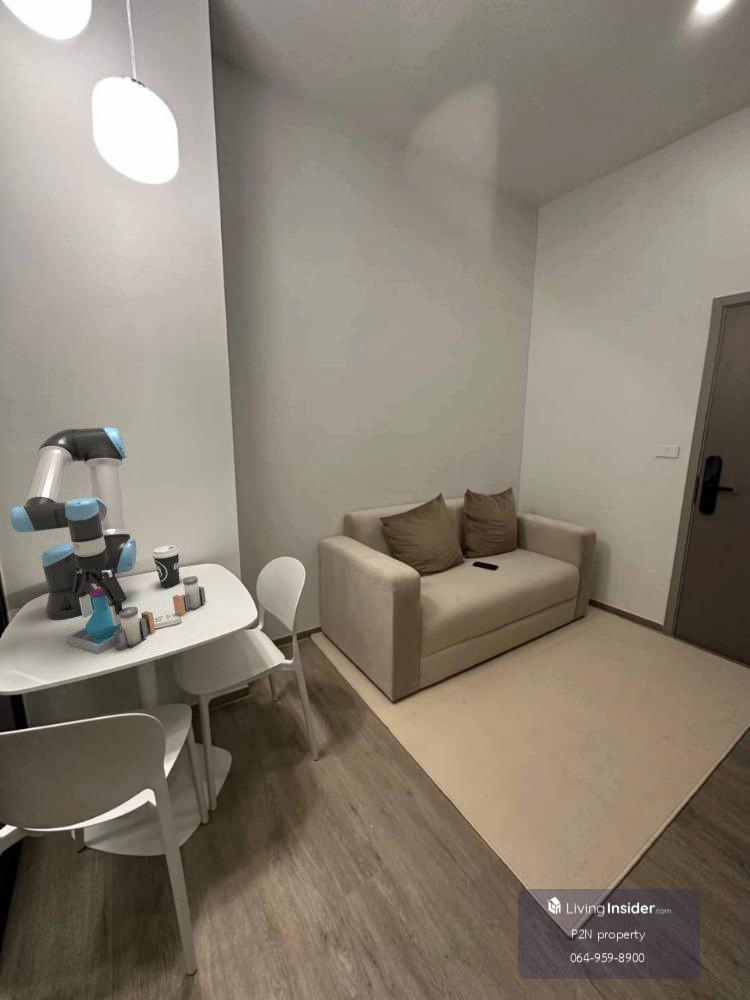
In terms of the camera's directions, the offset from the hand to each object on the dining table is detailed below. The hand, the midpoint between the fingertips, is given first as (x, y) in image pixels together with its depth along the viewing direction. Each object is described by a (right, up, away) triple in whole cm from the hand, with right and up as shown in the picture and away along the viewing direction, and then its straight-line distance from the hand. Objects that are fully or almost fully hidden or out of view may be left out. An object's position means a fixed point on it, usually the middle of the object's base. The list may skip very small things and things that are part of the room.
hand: (103, 619), depth 119 cm
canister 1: (+10, -6, -2) cm, 12 cm away
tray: (0, -6, +1) cm, 6 cm away
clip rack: (+14, -4, +8) cm, 17 cm away
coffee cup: (+1, +2, +38) cm, 38 cm away
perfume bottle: (0, -6, +1) cm, 6 cm away
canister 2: (+19, -1, +19) cm, 26 cm away
